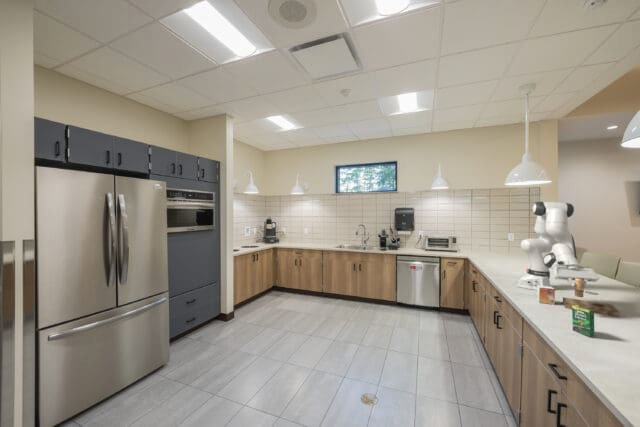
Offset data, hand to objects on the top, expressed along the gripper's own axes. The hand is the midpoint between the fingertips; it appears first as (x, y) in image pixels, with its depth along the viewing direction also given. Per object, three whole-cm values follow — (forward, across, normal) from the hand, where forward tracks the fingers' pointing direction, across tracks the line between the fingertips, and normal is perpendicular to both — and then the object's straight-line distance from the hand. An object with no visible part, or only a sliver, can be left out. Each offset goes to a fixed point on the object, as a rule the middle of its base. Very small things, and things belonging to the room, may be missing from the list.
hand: (580, 286), depth 146 cm
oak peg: (+4, 0, -5) cm, 6 cm away
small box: (0, +8, -26) cm, 27 cm away
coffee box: (+31, +12, +7) cm, 34 cm away
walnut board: (+3, -11, -21) cm, 24 cm away
